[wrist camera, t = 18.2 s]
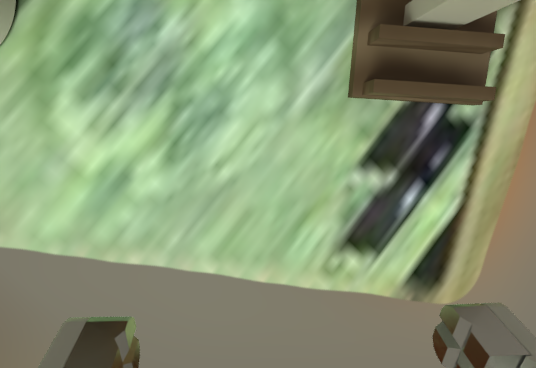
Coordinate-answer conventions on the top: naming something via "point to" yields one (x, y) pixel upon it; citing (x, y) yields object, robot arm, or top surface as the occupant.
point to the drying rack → (420, 57)
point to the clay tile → (449, 12)
